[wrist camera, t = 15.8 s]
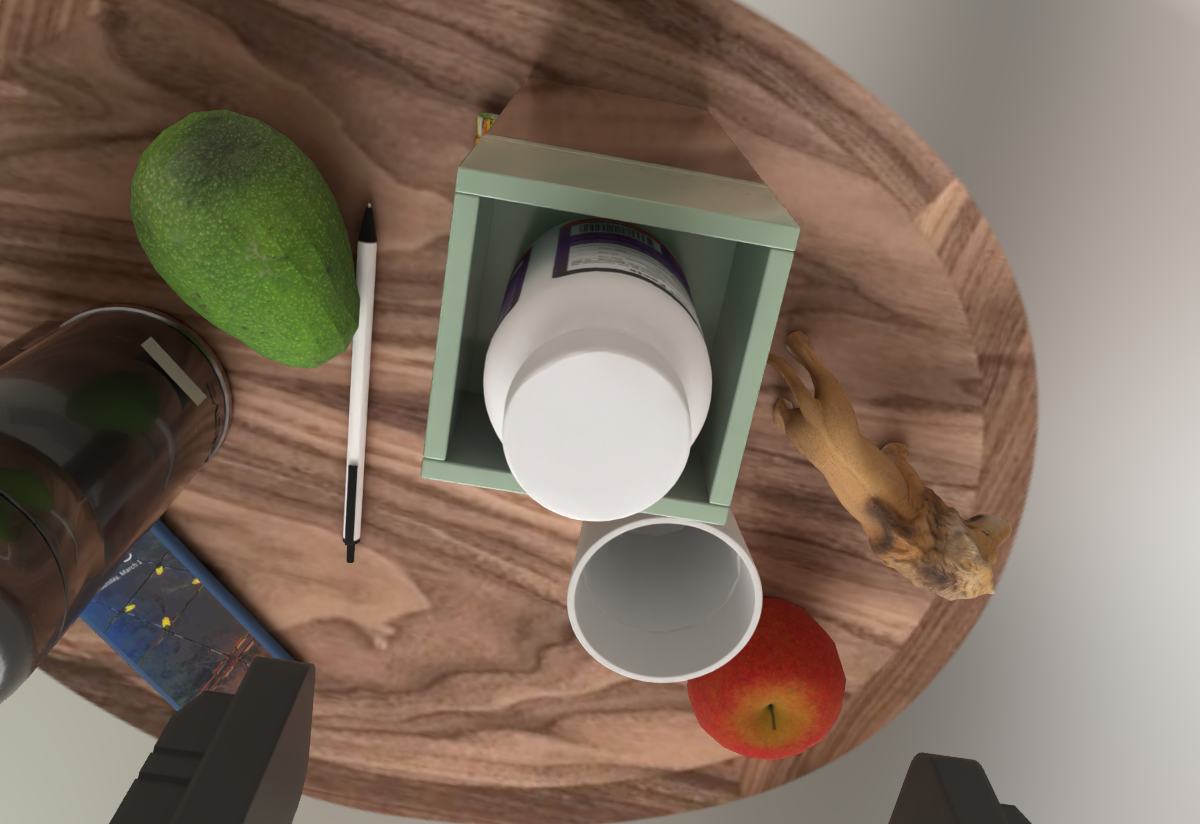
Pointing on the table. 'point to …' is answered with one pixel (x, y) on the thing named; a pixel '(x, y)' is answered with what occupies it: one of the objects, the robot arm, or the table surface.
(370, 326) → the pen
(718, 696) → the apple
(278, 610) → the table surface
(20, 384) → the robot arm
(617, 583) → the cup
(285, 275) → the fruit
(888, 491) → the lion figurine
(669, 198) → the green open-top box
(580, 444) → the pill bottle
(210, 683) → the smartphone
